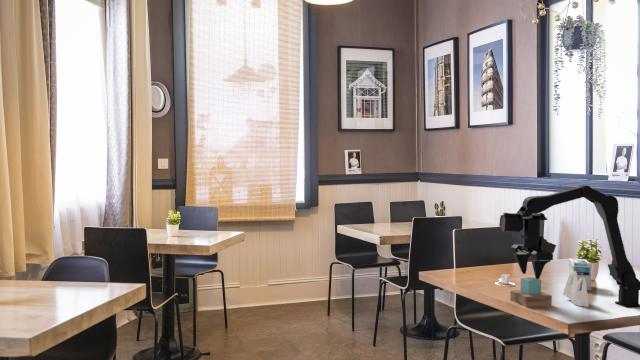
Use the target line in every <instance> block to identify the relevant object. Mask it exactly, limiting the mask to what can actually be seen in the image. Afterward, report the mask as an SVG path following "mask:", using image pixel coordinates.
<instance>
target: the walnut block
mask: <svg viewBox="0 0 640 360" xmlns="http://www.w3.org/2000/svg"><path fill="white" fill-rule="evenodd" d="M509 297H510V300H511V302H513V301H514V302H513V303H515V302H516V303H515V304H517V303H518V305H520V306H522V305H523V307H524V306H525V307H524V308H532V307H531V306H540V307H549V306H550V307H551V306H552V304H553V303H552V300H553V297H552V295H551V294H549V293H546V292H543V291H541V294H535V295H528V294H525V293H522V292H521V289H519V290H518V289H515V290H510V296H509Z"/></svg>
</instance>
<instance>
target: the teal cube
mask: <svg viewBox="0 0 640 360" xmlns="http://www.w3.org/2000/svg"><path fill="white" fill-rule="evenodd" d="M520 290H521V292H522V293H525V294H528V295H535V294H541V292H542V280H541V279H540V278H539V279H536V277H532V276H530V277H520Z"/></svg>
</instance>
